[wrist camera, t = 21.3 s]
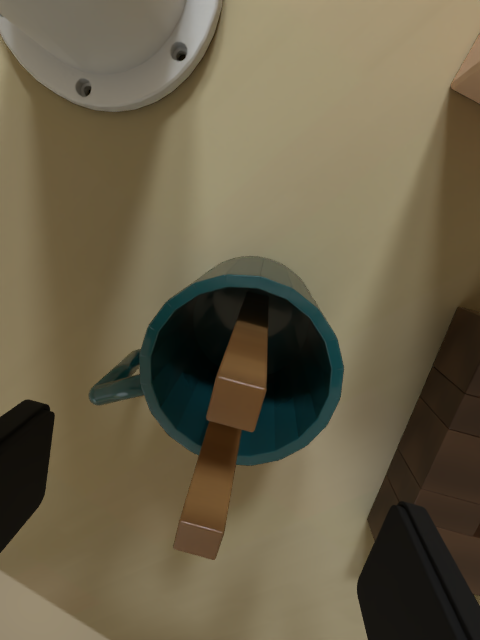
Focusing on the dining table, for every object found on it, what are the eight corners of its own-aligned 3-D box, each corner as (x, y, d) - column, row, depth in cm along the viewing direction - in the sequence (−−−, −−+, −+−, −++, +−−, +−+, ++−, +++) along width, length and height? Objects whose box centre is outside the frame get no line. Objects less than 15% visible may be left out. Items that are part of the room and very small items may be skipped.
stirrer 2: (236, 330, 22) (178, 521, 11) (258, 336, 22) (224, 533, 11) (231, 348, 23) (172, 549, 11) (252, 354, 23) (215, 561, 11)
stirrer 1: (247, 291, 22) (216, 375, 10) (269, 296, 22) (267, 389, 9) (241, 312, 22) (204, 421, 10) (263, 318, 22) (254, 434, 10)
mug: (298, 240, 22) (316, 249, 13) (328, 364, 23) (361, 445, 15) (121, 290, 23) (32, 327, 15) (161, 402, 25) (103, 494, 16)
